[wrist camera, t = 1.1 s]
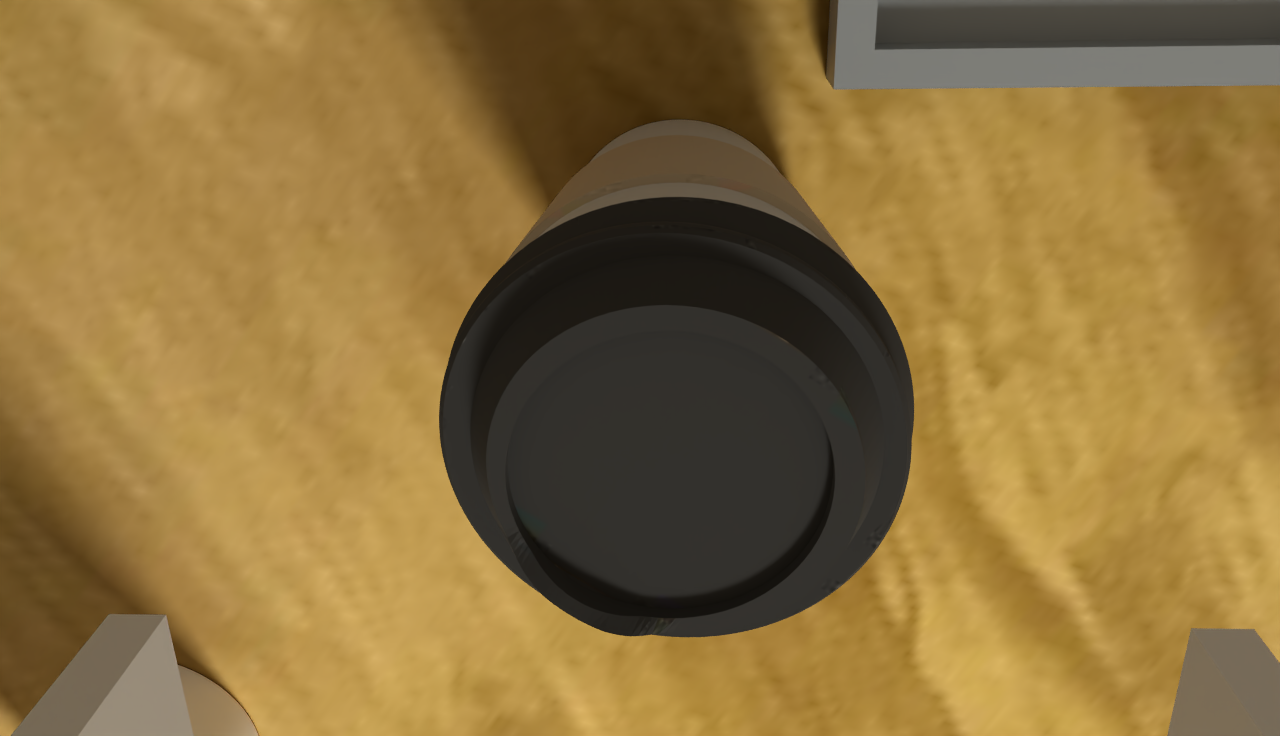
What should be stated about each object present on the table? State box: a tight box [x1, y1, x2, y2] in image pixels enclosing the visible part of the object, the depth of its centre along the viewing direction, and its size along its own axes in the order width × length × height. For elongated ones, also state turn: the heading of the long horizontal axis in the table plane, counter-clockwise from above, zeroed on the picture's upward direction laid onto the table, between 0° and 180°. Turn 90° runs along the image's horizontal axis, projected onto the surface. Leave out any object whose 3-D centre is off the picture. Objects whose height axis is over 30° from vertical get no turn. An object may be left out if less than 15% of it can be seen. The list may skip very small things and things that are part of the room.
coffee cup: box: [439, 120, 914, 637], centre depth 26 cm, size 9×9×15 cm
